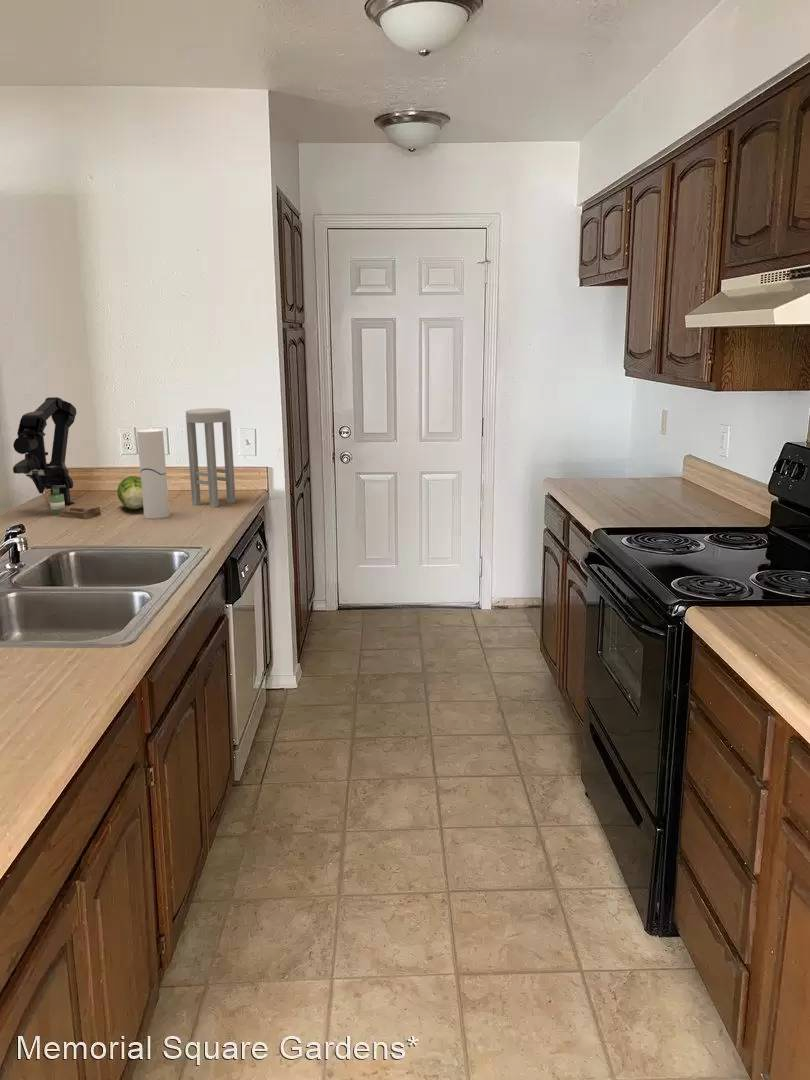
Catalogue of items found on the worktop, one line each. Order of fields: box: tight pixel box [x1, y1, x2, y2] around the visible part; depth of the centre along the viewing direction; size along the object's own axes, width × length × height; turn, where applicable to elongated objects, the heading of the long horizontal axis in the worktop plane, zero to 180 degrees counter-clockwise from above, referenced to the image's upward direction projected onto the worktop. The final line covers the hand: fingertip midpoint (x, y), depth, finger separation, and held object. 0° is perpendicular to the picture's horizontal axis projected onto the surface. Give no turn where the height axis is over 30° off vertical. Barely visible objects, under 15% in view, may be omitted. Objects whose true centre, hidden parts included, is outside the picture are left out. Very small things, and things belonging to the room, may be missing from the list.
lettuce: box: [116, 475, 143, 510], centre depth 305 cm, size 12×21×11 cm, turn 20°
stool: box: [185, 407, 236, 508], centre depth 311 cm, size 16×16×35 cm
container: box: [136, 428, 170, 520], centre depth 291 cm, size 9×9×30 cm
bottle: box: [48, 486, 66, 516], centre depth 298 cm, size 5×5×10 cm
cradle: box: [58, 506, 102, 520], centre depth 295 cm, size 7×12×3 cm, turn 68°
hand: (41, 493), depth 300 cm, fingers closed
